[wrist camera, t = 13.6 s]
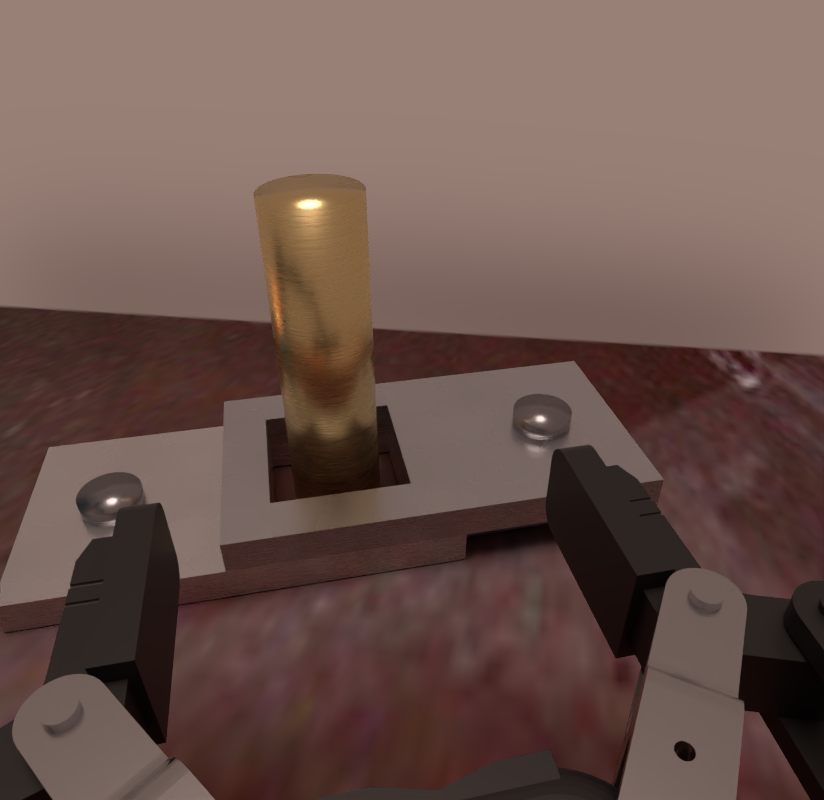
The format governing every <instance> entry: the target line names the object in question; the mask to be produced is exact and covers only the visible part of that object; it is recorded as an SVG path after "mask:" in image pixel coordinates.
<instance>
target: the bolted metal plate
mask: <svg viewBox="0 0 824 800" xmlns="http://www.w3.org/2000/svg"><path fill="white" fill-rule="evenodd" d="M375 393H376V414H377V435H378V453H383V452H389V455H390V458H391V462H392V466H393V469H394V473H395V476H396V480H397V483H398V485H397V486H390V487H382V488H375V489H368V490H361V491H354V492H347V493H340V494H333V495H325V496H318V497H311V498H304V499H297V500H290V501H283V502H276V503H275V492H274V476H273V467H277V466H285V465H292V464H291V457H290V450H289V443H288V436H287V429H286V422H285V414H284V407H283V400H282V395H278V396H269V397H260V398H252V399H243V400H235V401H226V402H224V426H220V427H212V428H204V429H196V430H188V431H179V432H171V433H163V434H155V435H146V436H138V437H130V438H122V439H113V440H105V441H97V442H89V443H81V444H72V445H64V446H56V447H49V449H48V452H47V454H46V457H45V460H44V463H43V465H42V468H41V471H40V474H39V477H38V479H37V482H36V485H35V488H34V490H33V493H32V496H31V499H30V501H29V504H28V507H27V510H26V513H25V515H24V518H23V521H22V524H21V526H20V529H19V532H18V535H17V538H16V540H15V543H14V546H13V549H12V551H11V554H10V557H9V560H8V562H7V565H6V568H5V571H4V574H3V576H2V579H1V582H0V625H1V627H2V629H3V631H4V633H6V632H12V631H18V630H24V629H30V628H37V627H43V626H49V625H55V624H60V621H61V617H62V613H63V609H64V608H65V601H66V597H67V593H68V589H70V582H71V578H72V574H73V570H74V566H75V562H76V560H77V559H78V558H79V556H80V555H81V554H82V552H83V551H84V550H85V548H86V547H87V546H88V544H89V543H90V542H91V540H92V539H96V538H103V537H110V536H113V531H114V526H115V521H116V517H117V512H118V510H119V509H120V508H123V507H130V506H138V505H145V504H152V503H161V505H162V507H163V509H164V513H165V516H166V520H167V523H168V527H169V530H170V534H171V537H172V541H173V544H174V548H175V551H176V555H177V559H178V565H179V574H180V591H179V603H178V605H180V604H187V603H193V602H199V601H205V600H212V599H218V598H224V597H230V596H237V595H243V594H249V593H255V592H262V591H268V590H274V589H280V588H287V587H293V586H299V585H305V584H311V583H318V582H324V581H330V580H336V579H343V578H349V577H355V576H361V575H368V574H374V573H380V572H386V571H393V570H399V569H405V568H411V567H418V566H424V565H430V564H436V563H443V562H449V561H455V560H461V559H465V555H466V537H470V536H476V535H483V534H489V533H496V532H502V531H509V530H515V529H522V528H528V527H534V526H541V525H547V524H548V521H547V516H546V496H547V489H548V482H549V474H550V467H551V460H552V455H553V452H554V450H555V449H560V448H567V447H575V446H582V445H591V446H592V447H594V449H595V450H596V451H597V453H598V454H599V456H600V457H601V459H602V460H603V462H604V463H605V465H606V466H613V465H618V466H620V467H621V468H623V469H624V470H625V471H627V472H628V473H630V474H631V475H632V476H634V477H635V478H637V479H638V480H639V482H640V483H641V484H642V486H643V487H644V489H645V490H646V491H647V493H648V494H649V496H650V499H651V501H654V503H655V504H656V505H657V503H658V499H659V495H660V491H661V488H662V484H663V480H664V479H663V478H662V477H661V475H660V474H659V473H658V471H657V470H656V469H655V467H654V466H653V465H652V463H651V462H650V461H649V459H648V458H647V457H646V456H645V454H644V453H643V452H642V450H641V449H640V448H639V446H638V445H637V444H636V442H635V441H634V440H633V438H632V437H631V436H630V434H629V433H628V432H627V430H626V429H625V428H624V426H623V425H622V424H621V422H620V421H619V420H618V418H617V417H616V416H615V414H614V413H613V412H612V410H611V409H610V408H609V407H608V405H607V404H606V403H605V401H604V400H603V399H602V397H601V396H600V395H599V393H598V392H597V391H596V389H595V388H594V387H593V385H592V384H591V383H590V381H589V380H588V379H587V377H586V376H585V375H584V373H583V372H582V371H581V369H580V368H579V367H578V365H577V364H576V363H575V362H574V361H571V362H562V363H553V364H545V365H536V366H528V367H519V368H510V369H502V370H493V371H484V372H476V373H467V374H459V375H450V376H441V377H433V378H424V379H415V380H407V381H398V382H390V383H381V384H375Z"/></svg>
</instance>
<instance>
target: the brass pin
mask: <svg viewBox="0 0 824 800" xmlns="http://www.w3.org/2000/svg"><path fill="white" fill-rule="evenodd" d="M254 201H255V209H256V215H257V223H258V230H259V237H260V244H261V251H262V258H263V265H264V272H265V280H266V287H267V294H268V301H269V308H270V315H271V322H272V329H273V336H274V343H275V351H276V358H277V365H278V372H279V379H280V386H281V393H282V400H283V407H284V414H285V422H286V429H287V436H288V443H289V450H290V457H291V464H292V471H293V478H294V485H295V493H296V500H297V499H304V498H311V497H318V496H325V495H333V494H340V493H347V492H354V491H361V490H368V489H375V488H380V476H379V455H378V435H377V414H376V393H375V372H374V351H373V330H372V312H371V311H372V310H371V290H370V270H369V269H370V268H369V247H368V226H367V207H366V206H367V205H366V188H365V186H364V185H363V184H362V183H361V182H360V181H358V180H355V179H352V178H349V177H345V176H340V175H330V174H305V175H295V176H289V177H284V178H280V179H276V180H272V181H269V182H267V183H265V184H263V185H261V186H259V187H258V188H257V189H256V190H255V192H254Z"/></svg>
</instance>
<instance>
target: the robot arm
mask: <svg viewBox="0 0 824 800" xmlns="http://www.w3.org/2000/svg"><path fill="white" fill-rule="evenodd" d="M546 516H547V521H548V525H549V528H550V530H551V532H552V534H553V536H554V538H555V540H556V542H557V544H558V546H559V548H560V550H561V552H562V554H563V556H564V558H565V560H566V562H567V564H568V566H569V568H570V570H571V572H572V574H573V576H574V577H575V579H576V581H577V583H578V585H579V587H580V589H581V591H582V593H583V595H584V597H585V599H586V601H587V603H588V605H589V607H590V609H591V611H592V613H593V615H594V617H595V619H596V621H597V623H598V625H599V626H600V628H601V630H602V632H603V634H604V636H605V638H606V640H607V642H608V644H609V646H610V648H611V650H612V652H613V654H614V656H615V658H620V657H626V656H631V655H636V657H637V659H638V661H639V663H640V664H641V670H640V673H639V677H638V681H637V685H636V689H635V694H634V698H633V702H632V706H631V710H630V714H629V719H628V723H627V727H626V731H625V735H624V740H623V744H622V748H621V752H620V756H619V760H618V764H617V768H616V771H615V775H614V779H613V782H612V785H611V784H609V783H607V782H605V781H603V780H601V779H599V778H596V777H594V776H592V775H589V774H586V773H583V772H579V771H575V770H570V769H565V768H557V767H556V764H555V762H554V759H553V756H552V754H551V751H550V750H545V751H540V752H536V753H531V754H526V755H521V756H517V757H512V758H507V759H502V760H498V761H493V762H492V763H490V764H488V765H486V766H484V767H482V768H480V769H478V770H476V771H474V772H473V773H471V774H469V775H467V776H465V777H463V778H461V779H459V780H457V781H455V782H454V783H452V784H450V785H448V786H446V787H444V788H442V789H439V790H418V789H401V788H384V787H370V788H365V789H360V790H355V791H351V792H346V793H341V794H336V795H332V796H327V797H322V798H317V799H313V800H736V794H737V784H738V773H739V763H740V752H741V742H742V731H743V721H744V710H745V711H753V712H759V713H760V715H761V716H762V718H763V720H764V722H765V723H766V725H767V727H768V728H769V730H770V732H771V733H772V735H773V737H774V739H775V740H776V742H777V744H778V745H779V747H780V749H781V750H782V752H783V754H784V755H785V757H786V759H787V761H788V762H789V764H790V766H791V767H792V769H793V771H794V772H795V774H796V776H797V778H798V779H799V781H800V783H801V784H802V786H803V788H804V789H805V791H806V793H807V794H808V796H809V798H810V800H824V581H810V582H806V583H803V584H801V585H800V586H798V587H797V588H796V590H795V591H794V593H793V596H792V598H791V599H783V598H773V597H764V596H755V595H748V594H743V593H741V591H740V590H739V589H738V588H737V587H736V586H735V585H734V584H733V583H732V582H731V581H730V580H728V579H727V578H725V577H724V576H722V575H720V574H718V573H715V572H713V571H710V570H706V569H702V568H701V567H700V566H699V564H698V563H697V562H696V560H695V559H694V557H693V556H692V555H691V553H690V552H689V550H688V549H687V548H686V546H685V545H684V543H683V542H682V541H681V539H680V538H679V536H678V535H677V534H676V532H675V531H674V529H673V528H672V527H671V525H670V524H669V522H668V521H667V520H666V518H665V517H664V515H661V511H660V510H659V508H658V507H657V506H656V504H655V503H654V501H651V499H650V496H649V494H648V493H647V491H646V490H645V489H644V487H643V486H642V484H641V483H640V482H639V480H638V479H637V478H635V477H634V476H632V475H631V474H630V473H628V472H627V471H625V470H624V469H623V468H621V467H620V466H618V465H613V466H606V465H605V463H604V462H603V460H602V459H601V457H600V456H599V454H598V453H597V451H596V450H595V449H594V447H592V446H591V445H582V446H575V447H567V448H560V449H555V450H554V452H553V455H552V460H551V467H550V474H549V482H548V489H547V496H546ZM179 591H180V574H179V565H178V559H177V555H176V551H175V548H174V544H173V541H172V537H171V534H170V530H169V527H168V523H167V520H166V516H165V513H164V509H163V507H162V505H161V503H152V504H145V505H138V506H130V507H123V508H120V509H119V510H118V512H117V517H116V521H115V526H114V531H113V536H110V537H103V538H96V539H92V540H91V542H90V543H89V544H88V546H87V547H86V548H85V550H84V551H83V552H82V554H81V555H80V556H79V558H78V559H77V560H76V562H75V566H74V570H73V574H72V578H71V582H70V589H68V593H67V597H66V601H65V608H64V609H63V613H62V617H61V621H60V625H59V629H58V632H57V636H56V640H55V644H54V648H53V652H52V656H51V660H50V664H49V668H48V672H47V675H46V679H45V682H44V685H43V686H42V687H40V688H39V689H38V690H37V691H35V692H34V693H33V694H32V695H31V696H30V697H29V698H28V699H27V700H26V701H25V702H24V704H23V705H22V706H21V708H20V709H19V711H18V713H17V715H16V717H15V719H14V720H13V721H11V722H10V723H8V724H7V725H5V726H3V727H2V728H0V800H215V799H214V798H213V797H212V796H211V795H210V794H209V792H208V791H207V790H206V789H205V788H204V787H203V786H202V784H201V783H200V782H199V781H198V780H197V779H196V778H195V776H194V775H193V774H192V773H191V772H190V771H189V770H188V769H187V767H186V766H185V765H184V764H183V763H182V762H180V761H179V760H178V759H177V758H172V759H169V758H168V757H167V756H166V755H165V754H164V753H163V752H162V751H161V750H160V748H159V747H158V746H157V745H156V744H161V743H166V737H167V726H168V714H169V703H170V692H171V681H172V670H173V658H174V647H175V636H176V625H177V614H178V603H179Z"/></svg>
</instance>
